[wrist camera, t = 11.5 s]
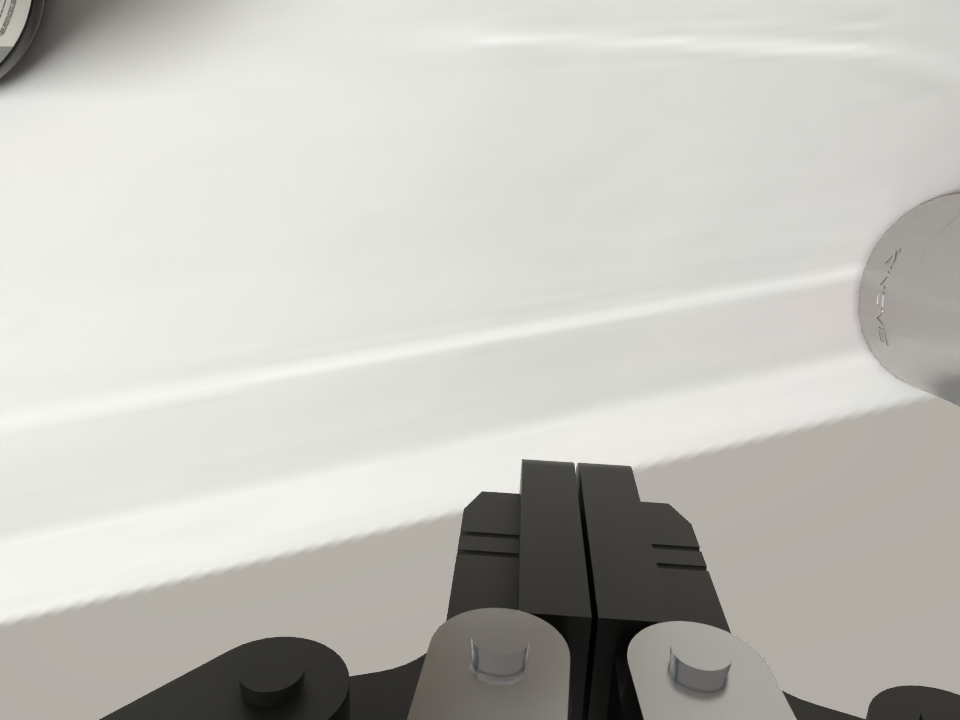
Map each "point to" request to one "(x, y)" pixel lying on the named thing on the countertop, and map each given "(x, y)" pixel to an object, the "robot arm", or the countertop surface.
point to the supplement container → (17, 29)
